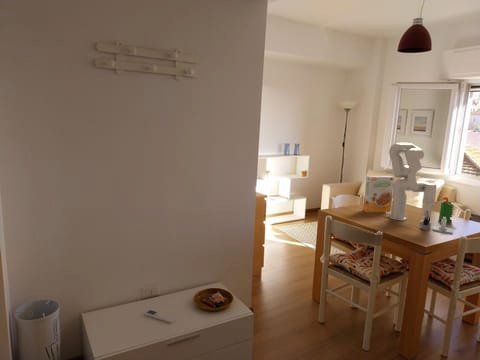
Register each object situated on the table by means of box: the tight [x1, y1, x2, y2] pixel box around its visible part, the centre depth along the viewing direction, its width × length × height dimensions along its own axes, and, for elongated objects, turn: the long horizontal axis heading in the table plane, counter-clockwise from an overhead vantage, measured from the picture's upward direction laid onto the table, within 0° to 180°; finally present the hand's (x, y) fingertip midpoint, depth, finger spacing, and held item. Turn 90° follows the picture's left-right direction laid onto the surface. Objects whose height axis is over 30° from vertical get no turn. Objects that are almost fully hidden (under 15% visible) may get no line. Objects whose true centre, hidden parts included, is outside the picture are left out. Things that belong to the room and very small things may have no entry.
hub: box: [419, 219, 432, 231], centre depth 249 cm, size 7×7×5 cm
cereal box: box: [362, 175, 395, 213], centre depth 292 cm, size 22×6×30 cm, turn 104°
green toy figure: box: [438, 196, 455, 225], centre depth 265 cm, size 10×9×20 cm
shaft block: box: [432, 217, 454, 235], centre depth 245 cm, size 12×12×10 cm
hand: (426, 223), depth 248 cm, fingers open, 9 cm apart
